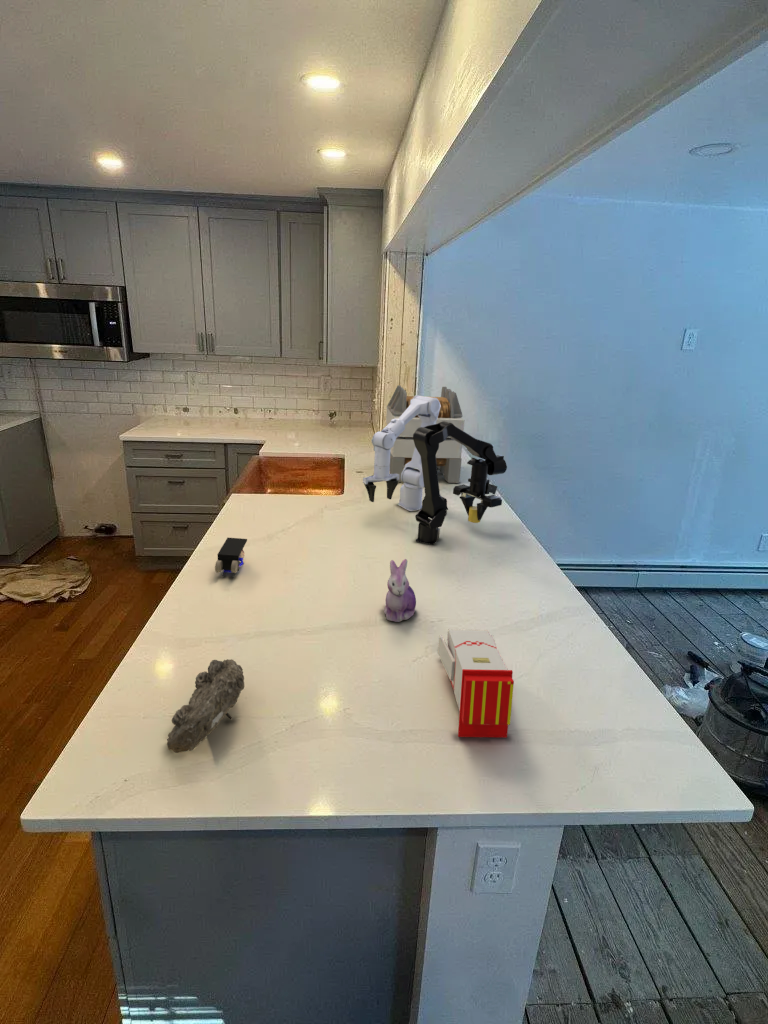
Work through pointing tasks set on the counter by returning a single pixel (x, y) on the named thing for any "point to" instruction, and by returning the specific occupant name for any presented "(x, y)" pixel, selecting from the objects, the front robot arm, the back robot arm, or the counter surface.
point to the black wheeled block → (230, 556)
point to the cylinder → (473, 515)
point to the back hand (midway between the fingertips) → (380, 499)
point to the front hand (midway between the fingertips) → (474, 518)
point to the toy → (478, 682)
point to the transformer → (404, 444)
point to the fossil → (206, 705)
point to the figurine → (399, 594)
